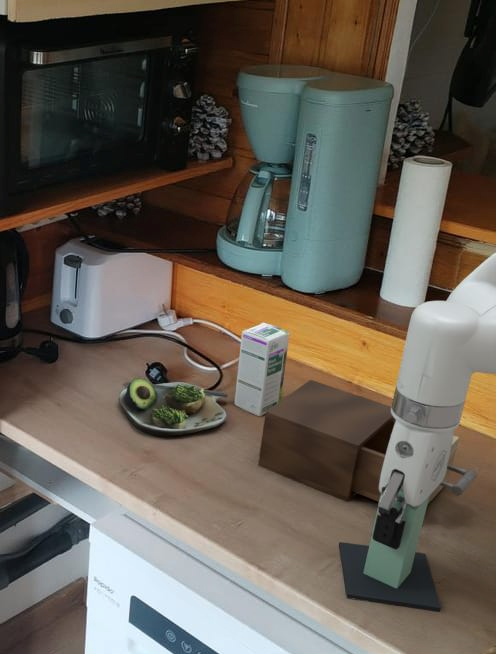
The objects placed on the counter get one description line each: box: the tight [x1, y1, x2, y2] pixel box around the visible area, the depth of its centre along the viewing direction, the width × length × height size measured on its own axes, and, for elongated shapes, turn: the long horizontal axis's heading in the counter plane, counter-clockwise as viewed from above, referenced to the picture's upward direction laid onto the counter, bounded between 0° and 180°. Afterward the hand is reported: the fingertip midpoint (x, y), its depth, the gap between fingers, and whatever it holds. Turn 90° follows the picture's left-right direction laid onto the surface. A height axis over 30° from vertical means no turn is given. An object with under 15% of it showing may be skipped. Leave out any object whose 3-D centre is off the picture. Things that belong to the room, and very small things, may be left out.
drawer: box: [351, 418, 478, 506], centre depth 132 cm, size 18×13×8 cm
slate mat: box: [338, 541, 442, 612], centre depth 117 cm, size 11×11×1 cm
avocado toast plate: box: [118, 378, 229, 437], centre depth 155 cm, size 19×18×5 cm
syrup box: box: [233, 322, 291, 417], centre depth 155 cm, size 6×6×14 cm
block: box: [364, 491, 429, 589], centre depth 114 cm, size 4×4×12 cm
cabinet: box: [257, 379, 395, 503], centre depth 139 cm, size 15×15×10 cm
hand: (398, 529), depth 114 cm, fingers open, 6 cm apart
